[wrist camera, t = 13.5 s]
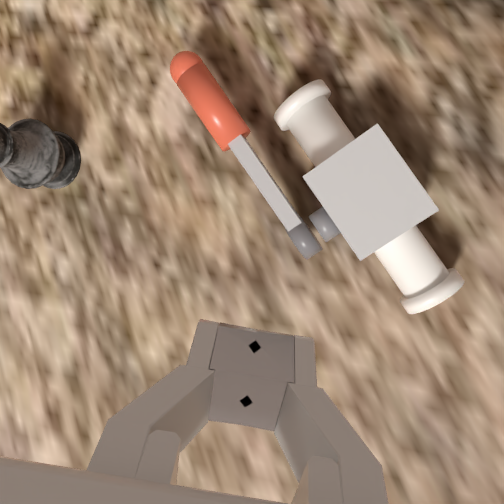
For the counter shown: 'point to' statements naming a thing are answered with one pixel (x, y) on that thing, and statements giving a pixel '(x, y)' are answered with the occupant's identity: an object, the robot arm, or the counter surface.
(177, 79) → the lever
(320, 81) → the valve
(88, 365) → the counter surface
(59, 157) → the grey chess pawn
